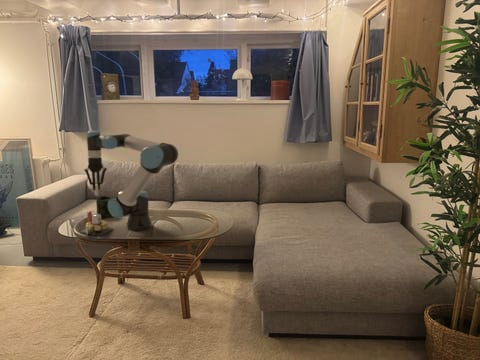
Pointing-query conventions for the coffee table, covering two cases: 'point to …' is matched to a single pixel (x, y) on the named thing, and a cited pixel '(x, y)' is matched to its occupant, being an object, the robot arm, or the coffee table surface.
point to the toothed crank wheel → (95, 227)
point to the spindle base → (96, 221)
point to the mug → (103, 205)
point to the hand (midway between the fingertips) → (96, 195)
